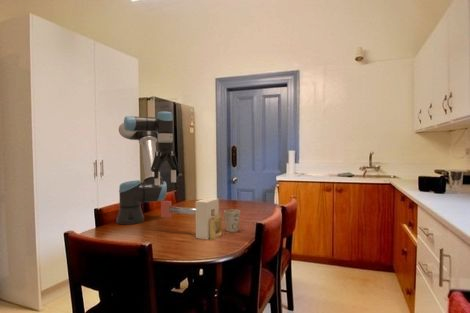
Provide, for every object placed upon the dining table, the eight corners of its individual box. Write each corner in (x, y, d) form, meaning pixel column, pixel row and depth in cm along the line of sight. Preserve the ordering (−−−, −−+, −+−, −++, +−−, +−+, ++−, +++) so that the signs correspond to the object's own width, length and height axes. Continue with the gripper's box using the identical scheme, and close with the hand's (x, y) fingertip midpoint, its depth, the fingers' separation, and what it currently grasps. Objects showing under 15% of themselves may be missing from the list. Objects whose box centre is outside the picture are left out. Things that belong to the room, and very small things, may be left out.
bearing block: (195, 238, 137) (195, 201, 137) (208, 231, 148) (207, 197, 148) (207, 239, 135) (207, 202, 134) (218, 232, 146) (218, 198, 145)
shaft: (160, 216, 150) (160, 201, 150) (164, 215, 153) (163, 200, 153) (207, 221, 140) (207, 204, 139) (210, 220, 142) (209, 203, 142)
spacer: (209, 238, 136) (209, 219, 136) (218, 233, 144) (218, 215, 144) (213, 239, 135) (213, 219, 135) (222, 234, 143) (221, 215, 143)
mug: (228, 233, 144) (228, 213, 144) (218, 227, 155) (218, 208, 155) (243, 231, 148) (243, 211, 148) (232, 225, 159) (232, 207, 159)
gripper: (155, 141, 137) (156, 186, 138) (185, 142, 160) (185, 181, 160) (142, 141, 140) (143, 186, 140) (173, 142, 163) (173, 180, 163)
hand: (165, 183), depth 150 cm, fingers open, 13 cm apart
